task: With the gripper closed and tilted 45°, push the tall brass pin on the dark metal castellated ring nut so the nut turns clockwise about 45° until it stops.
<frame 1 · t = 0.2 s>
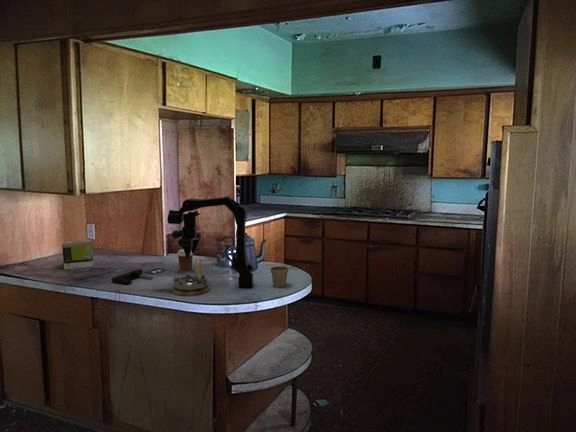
hand: (190, 255, 230), 15 cm above the counter, tool pointing down, fingers open, 9 cm apart
ring nut: (190, 272, 222), point 9 cm above the counter, hinge at 0.0°
tea box: (79, 267, 269), on the counter
door handle: (135, 280, 243), on the counter
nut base: (191, 290, 224), on the counter
coffee cup: (186, 271, 258), on the counter
flower pot: (279, 285, 231), on the counter
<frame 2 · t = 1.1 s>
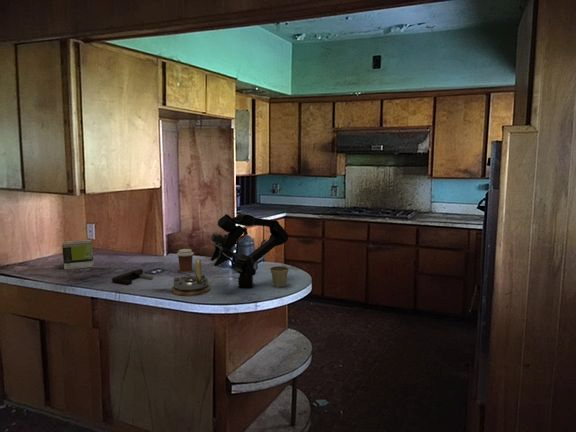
hand: (213, 263, 221), 13 cm above the counter, tool tilted 40°, fingers open, 9 cm apart
nothing on the counter moved.
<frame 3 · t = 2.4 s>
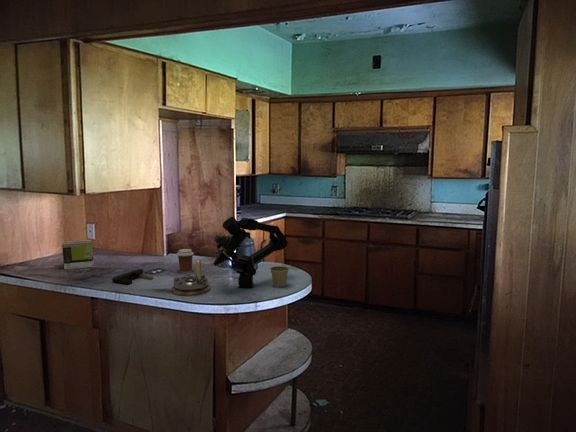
hand: (214, 264, 220), 13 cm above the counter, tool tilted 45°, fingers closed
nothing on the counter moved.
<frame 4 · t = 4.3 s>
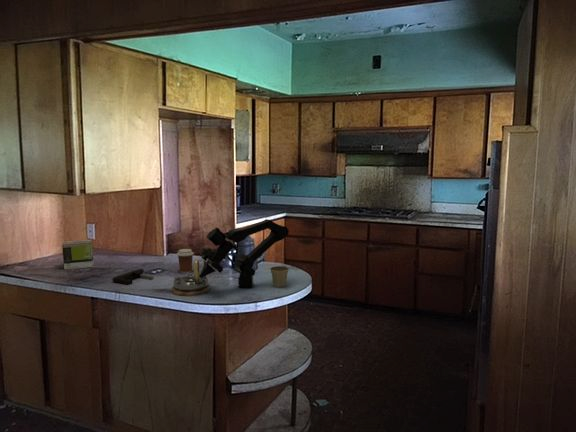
hand: (199, 277, 218), 8 cm above the counter, tool tilted 45°, fingers closed, pressing on ring nut
ring nut: (190, 272, 222), point 9 cm above the counter, hinge at 9.1°, touching gripper
everything else where it was.
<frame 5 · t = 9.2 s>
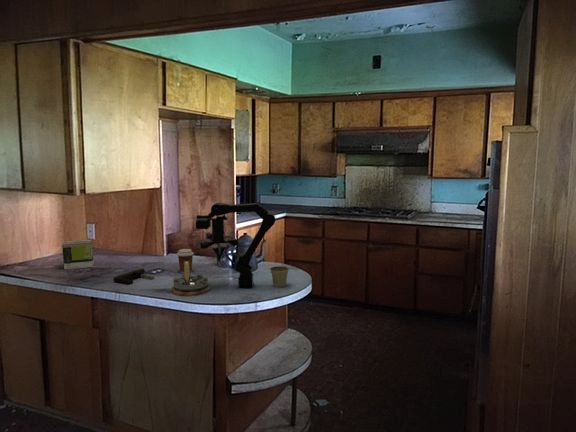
hand: (218, 260, 227), 13 cm above the counter, tool pointing down, fingers closed
ring nut: (190, 272, 222), point 9 cm above the counter, hinge at 47.6°
everything else where it was.
at the end: ring nut at +48° (first picture: +0°) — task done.
